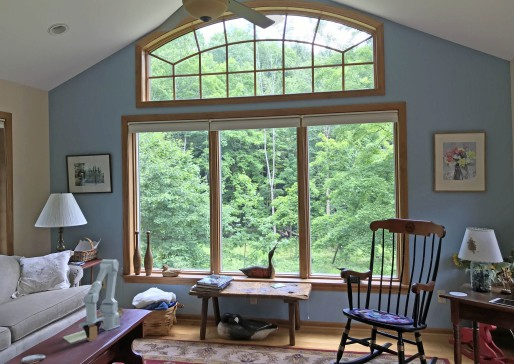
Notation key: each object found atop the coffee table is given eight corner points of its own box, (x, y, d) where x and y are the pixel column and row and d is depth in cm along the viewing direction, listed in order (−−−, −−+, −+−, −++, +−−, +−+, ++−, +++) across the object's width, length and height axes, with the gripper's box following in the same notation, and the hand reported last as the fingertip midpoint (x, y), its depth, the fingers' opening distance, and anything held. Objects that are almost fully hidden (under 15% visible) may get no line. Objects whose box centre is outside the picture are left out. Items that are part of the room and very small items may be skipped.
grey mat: (86, 330, 236) (86, 329, 236) (94, 335, 228) (94, 334, 228) (62, 337, 226) (62, 336, 226) (70, 343, 218) (70, 342, 218)
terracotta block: (94, 337, 226) (93, 324, 226) (97, 338, 223) (96, 325, 223) (86, 339, 223) (86, 326, 223) (90, 341, 220) (89, 328, 220)
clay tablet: (113, 311, 271) (93, 321, 252) (113, 304, 271) (93, 314, 252) (129, 313, 267) (111, 323, 248) (129, 306, 267) (111, 316, 248)
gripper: (81, 318, 215) (82, 341, 215) (106, 311, 225) (106, 333, 225) (76, 315, 220) (77, 338, 220) (101, 309, 230) (101, 330, 230)
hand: (92, 335), depth 223 cm, fingers closed on terracotta block, 4 cm apart
